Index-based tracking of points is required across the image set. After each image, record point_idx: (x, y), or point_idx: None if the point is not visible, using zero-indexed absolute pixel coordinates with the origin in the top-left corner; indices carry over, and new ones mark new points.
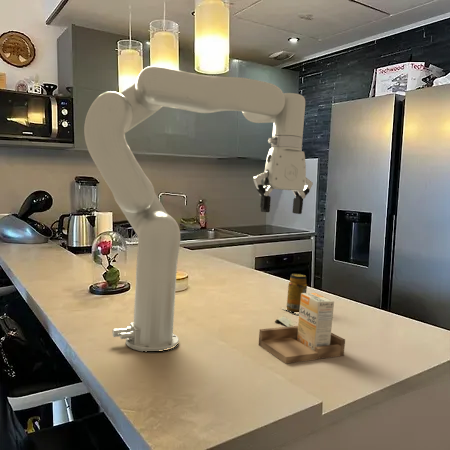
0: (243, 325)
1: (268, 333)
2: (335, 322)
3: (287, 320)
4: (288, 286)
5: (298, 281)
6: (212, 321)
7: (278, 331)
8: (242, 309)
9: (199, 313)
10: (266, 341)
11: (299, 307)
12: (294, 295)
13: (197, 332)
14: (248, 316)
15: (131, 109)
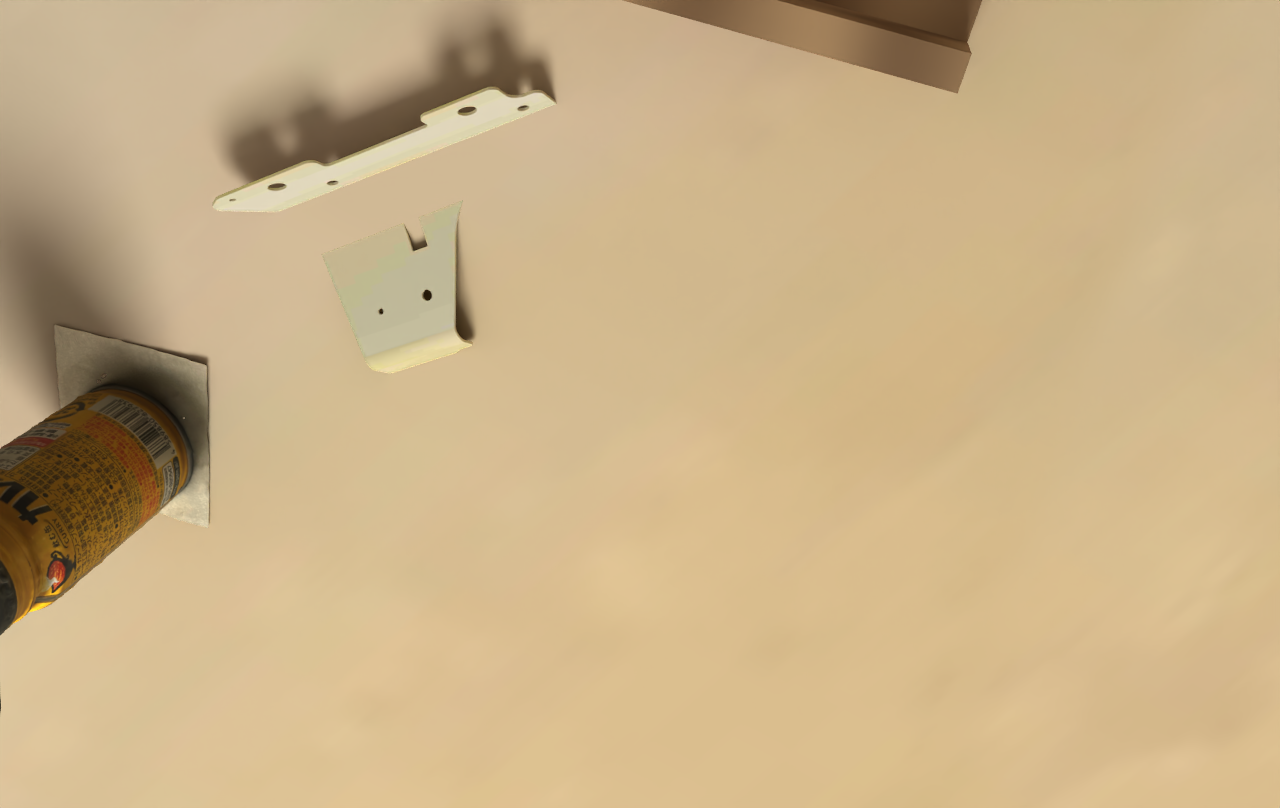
0: (726, 418)
1: (909, 31)
2: (33, 104)
3: (378, 300)
4: (74, 583)
5: (2, 531)
6: (860, 584)
7: (815, 7)
8: (481, 645)
9: (816, 734)
10: (946, 7)
11: (124, 410)
12: (104, 484)
13: (1128, 485)
14: (550, 527)
15: None
